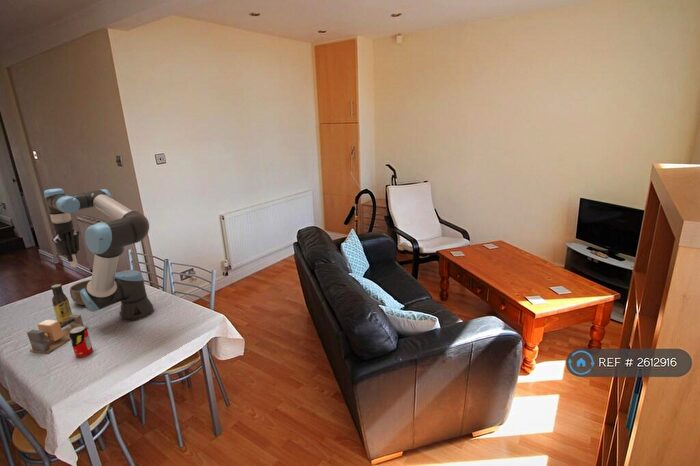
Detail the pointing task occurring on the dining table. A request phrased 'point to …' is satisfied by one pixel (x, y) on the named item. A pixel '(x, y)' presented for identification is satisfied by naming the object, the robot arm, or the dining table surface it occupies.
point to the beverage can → (80, 341)
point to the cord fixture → (40, 338)
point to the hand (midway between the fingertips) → (74, 266)
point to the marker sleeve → (51, 329)
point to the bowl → (78, 291)
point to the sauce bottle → (60, 304)
